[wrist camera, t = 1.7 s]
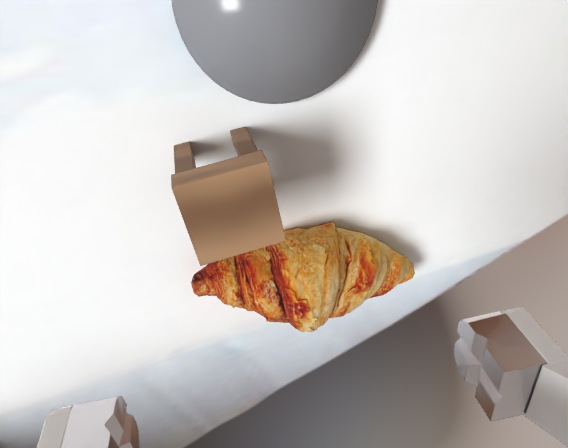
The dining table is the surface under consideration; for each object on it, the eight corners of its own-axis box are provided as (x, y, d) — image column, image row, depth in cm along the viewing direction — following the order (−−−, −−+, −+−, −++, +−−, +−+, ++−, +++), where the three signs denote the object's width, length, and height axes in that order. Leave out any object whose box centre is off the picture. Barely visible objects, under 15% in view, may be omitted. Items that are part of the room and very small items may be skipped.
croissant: (395, 217, 46) (441, 217, 38) (398, 313, 46) (444, 332, 38) (186, 227, 40) (191, 229, 33) (191, 336, 41) (198, 363, 33)
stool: (263, 191, 37) (286, 240, 30) (193, 211, 36) (200, 265, 30) (247, 123, 34) (267, 161, 27) (170, 144, 33) (171, 187, 26)
